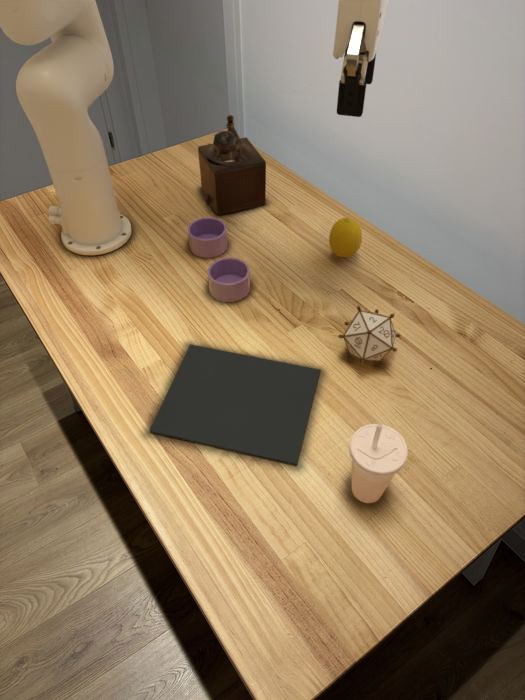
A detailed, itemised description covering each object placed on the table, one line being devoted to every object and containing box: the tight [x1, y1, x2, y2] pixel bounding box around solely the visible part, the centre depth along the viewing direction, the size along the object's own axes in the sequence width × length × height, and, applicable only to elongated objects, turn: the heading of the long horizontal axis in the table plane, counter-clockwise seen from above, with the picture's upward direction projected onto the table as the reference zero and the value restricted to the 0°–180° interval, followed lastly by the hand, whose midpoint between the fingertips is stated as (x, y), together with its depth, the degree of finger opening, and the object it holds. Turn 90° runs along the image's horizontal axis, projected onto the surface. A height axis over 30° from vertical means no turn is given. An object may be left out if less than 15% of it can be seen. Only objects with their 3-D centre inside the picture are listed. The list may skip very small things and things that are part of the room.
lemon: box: [328, 217, 363, 258], centre depth 95 cm, size 6×6×8 cm
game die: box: [337, 304, 402, 367], centre depth 79 cm, size 9×8×10 cm
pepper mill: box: [197, 114, 267, 216], centre depth 102 cm, size 16×11×18 cm
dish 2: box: [206, 257, 251, 303], centre depth 91 cm, size 7×7×4 cm
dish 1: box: [187, 216, 229, 259], centre depth 99 cm, size 7×7×4 cm
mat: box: [149, 343, 321, 467], centre depth 77 cm, size 20×16×1 cm
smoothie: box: [348, 422, 409, 504], centre depth 63 cm, size 6×6×14 cm
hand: (355, 98), depth 72 cm, fingers open, 9 cm apart
